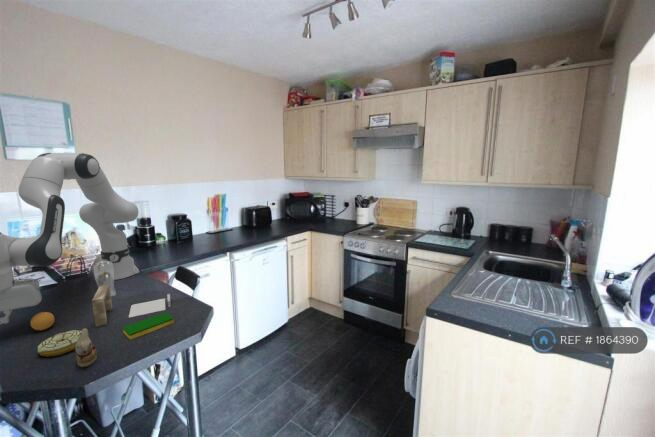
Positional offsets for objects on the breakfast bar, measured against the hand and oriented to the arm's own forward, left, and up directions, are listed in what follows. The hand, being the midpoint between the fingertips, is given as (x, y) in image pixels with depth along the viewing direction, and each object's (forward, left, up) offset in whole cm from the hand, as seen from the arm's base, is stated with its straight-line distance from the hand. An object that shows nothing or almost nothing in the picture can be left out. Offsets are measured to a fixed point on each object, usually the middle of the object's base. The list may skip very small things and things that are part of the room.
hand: (2, 323), depth 97 cm
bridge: (0, +27, -5) cm, 27 cm away
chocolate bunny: (+30, +27, -5) cm, 40 cm away
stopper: (0, +48, -5) cm, 48 cm away
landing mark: (0, +41, -5) cm, 41 cm away
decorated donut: (+18, +19, -6) cm, 26 cm away
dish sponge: (+18, +42, -6) cm, 46 cm away
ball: (0, +10, -2) cm, 10 cm away
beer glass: (-23, +25, -5) cm, 34 cm away
